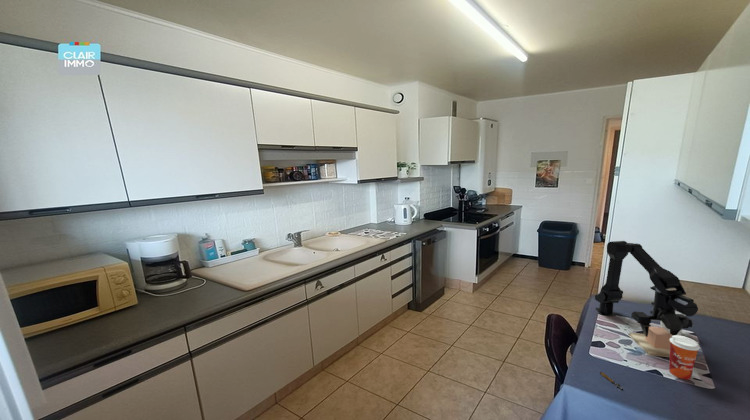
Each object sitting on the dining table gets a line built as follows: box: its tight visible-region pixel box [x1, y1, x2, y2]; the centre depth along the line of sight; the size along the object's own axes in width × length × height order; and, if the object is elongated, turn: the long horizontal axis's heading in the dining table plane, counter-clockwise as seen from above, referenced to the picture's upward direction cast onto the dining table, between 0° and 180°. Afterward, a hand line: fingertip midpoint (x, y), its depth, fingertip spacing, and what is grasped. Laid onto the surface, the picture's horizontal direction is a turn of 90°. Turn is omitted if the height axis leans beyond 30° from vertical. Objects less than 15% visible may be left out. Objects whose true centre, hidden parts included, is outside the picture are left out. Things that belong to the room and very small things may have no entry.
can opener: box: [599, 371, 624, 390], centre depth 108 cm, size 9×2×1 cm, turn 3°
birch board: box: [628, 332, 670, 358], centre depth 126 cm, size 14×14×1 cm
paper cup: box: [668, 335, 701, 380], centre depth 109 cm, size 8×8×14 cm
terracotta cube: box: [645, 326, 673, 349], centre depth 125 cm, size 6×6×6 cm
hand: (658, 337), depth 125 cm, fingers open, 9 cm apart
